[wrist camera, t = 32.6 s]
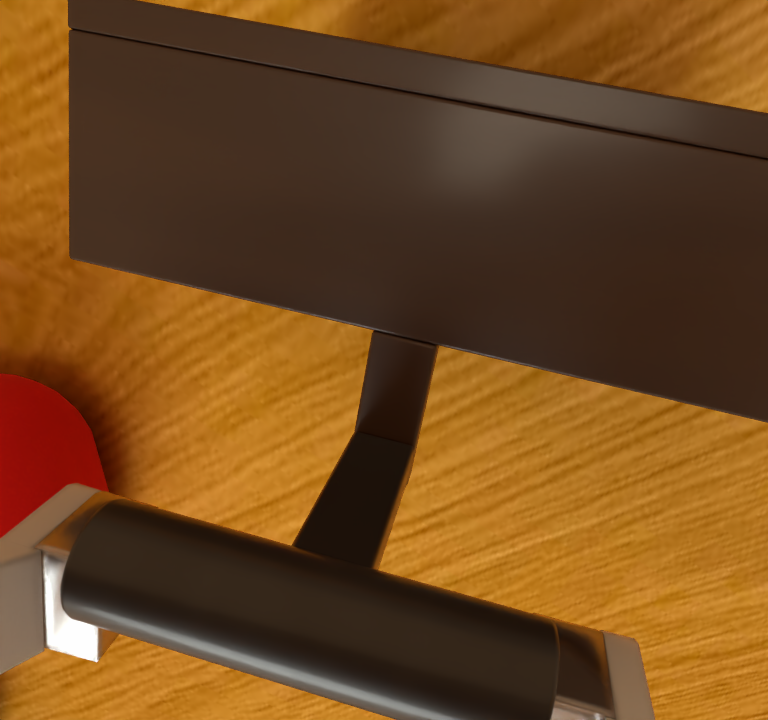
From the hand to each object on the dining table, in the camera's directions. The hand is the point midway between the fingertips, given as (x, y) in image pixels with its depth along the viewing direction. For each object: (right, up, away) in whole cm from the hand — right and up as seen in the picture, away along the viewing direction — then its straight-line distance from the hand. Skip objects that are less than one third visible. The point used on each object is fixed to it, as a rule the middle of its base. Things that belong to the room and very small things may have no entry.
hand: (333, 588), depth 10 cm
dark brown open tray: (+3, +10, +5) cm, 11 cm away
